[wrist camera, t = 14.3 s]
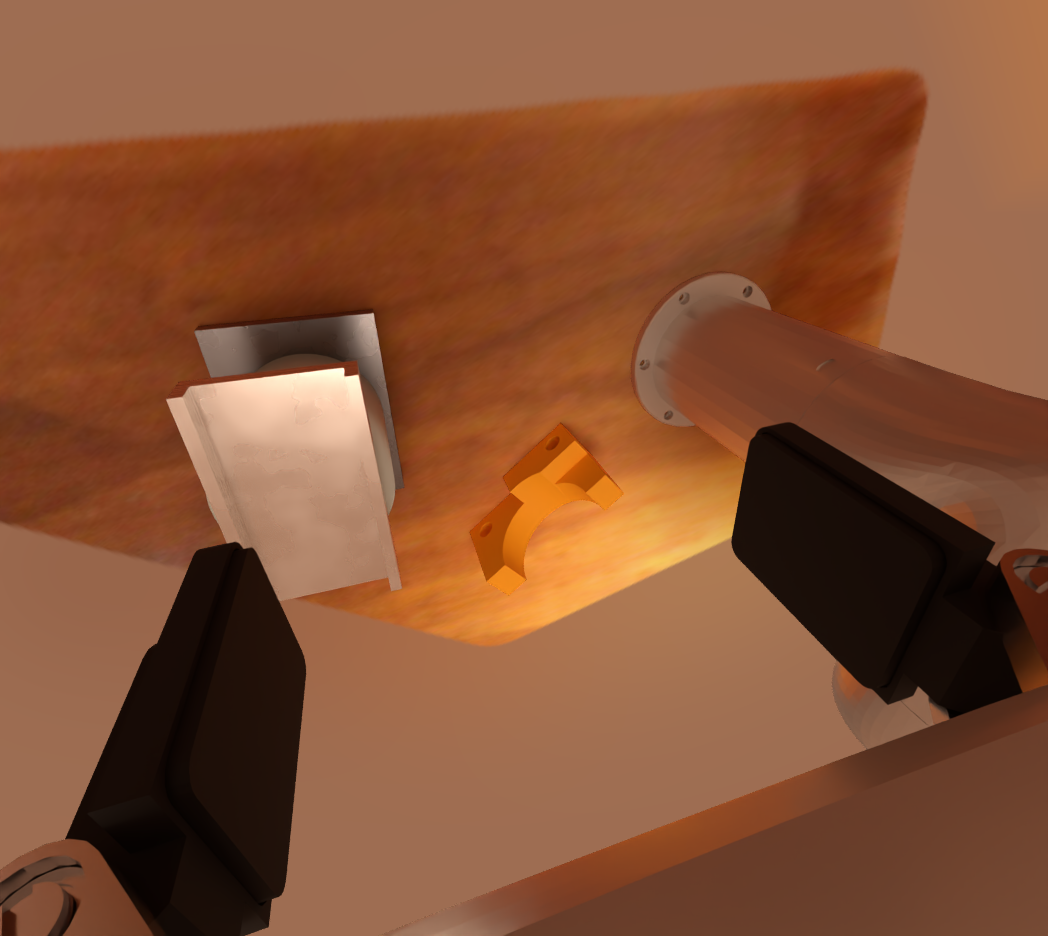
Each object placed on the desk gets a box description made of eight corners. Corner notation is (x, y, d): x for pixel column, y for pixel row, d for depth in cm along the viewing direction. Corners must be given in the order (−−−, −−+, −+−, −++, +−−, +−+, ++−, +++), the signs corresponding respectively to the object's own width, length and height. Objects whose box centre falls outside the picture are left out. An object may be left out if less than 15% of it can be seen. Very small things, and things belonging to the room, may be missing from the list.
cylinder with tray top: (372, 309, 32) (385, 371, 23) (403, 481, 39) (422, 583, 30) (198, 326, 30) (132, 403, 21) (262, 505, 37) (235, 626, 27)
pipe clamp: (559, 422, 41) (592, 461, 36) (589, 452, 43) (624, 493, 38) (454, 520, 43) (470, 571, 38) (489, 544, 45) (508, 595, 40)
